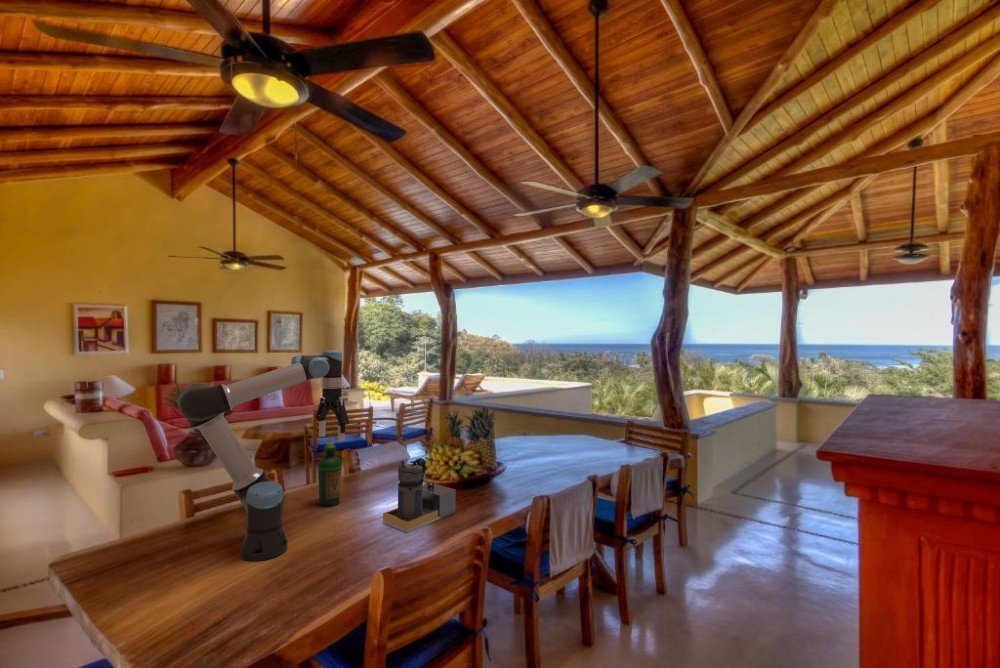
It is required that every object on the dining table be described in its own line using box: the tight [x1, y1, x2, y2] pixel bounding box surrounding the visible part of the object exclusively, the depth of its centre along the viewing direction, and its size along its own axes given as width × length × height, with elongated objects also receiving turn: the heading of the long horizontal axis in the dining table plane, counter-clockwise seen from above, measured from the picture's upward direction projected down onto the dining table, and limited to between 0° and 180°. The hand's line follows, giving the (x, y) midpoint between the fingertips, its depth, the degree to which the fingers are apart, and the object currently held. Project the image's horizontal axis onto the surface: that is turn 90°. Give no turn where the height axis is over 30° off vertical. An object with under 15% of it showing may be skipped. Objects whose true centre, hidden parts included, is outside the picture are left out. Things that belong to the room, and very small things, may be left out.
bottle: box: [317, 441, 343, 507], centre depth 220 cm, size 11×11×28 cm
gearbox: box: [382, 481, 457, 533], centre depth 205 cm, size 28×15×12 cm, turn 143°
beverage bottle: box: [397, 457, 426, 521], centre depth 201 cm, size 10×13×25 cm
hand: (331, 438), depth 199 cm, fingers open, 13 cm apart
